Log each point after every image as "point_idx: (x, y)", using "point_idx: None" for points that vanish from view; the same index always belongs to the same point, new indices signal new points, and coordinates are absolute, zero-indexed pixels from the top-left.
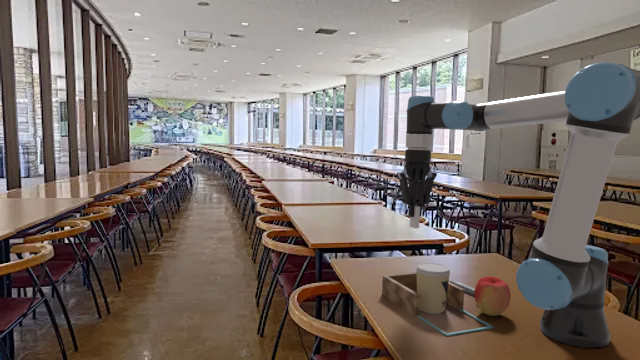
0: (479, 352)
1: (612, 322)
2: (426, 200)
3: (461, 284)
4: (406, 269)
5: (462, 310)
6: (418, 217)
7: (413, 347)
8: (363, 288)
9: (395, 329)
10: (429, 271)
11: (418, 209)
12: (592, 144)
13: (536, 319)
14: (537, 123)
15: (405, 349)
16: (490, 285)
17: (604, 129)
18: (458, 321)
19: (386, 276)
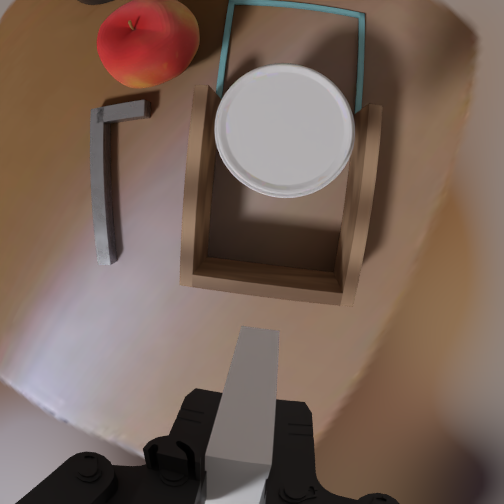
0: None
1: (27, 4)
2: (82, 486)
3: (101, 226)
4: (152, 396)
5: (221, 89)
6: (239, 377)
7: (448, 26)
8: (352, 340)
9: (443, 93)
10: (339, 92)
11: (232, 434)
12: None
13: None
14: None
15: (463, 31)
16: (163, 7)
17: None
18: (279, 50)
19: (348, 295)
